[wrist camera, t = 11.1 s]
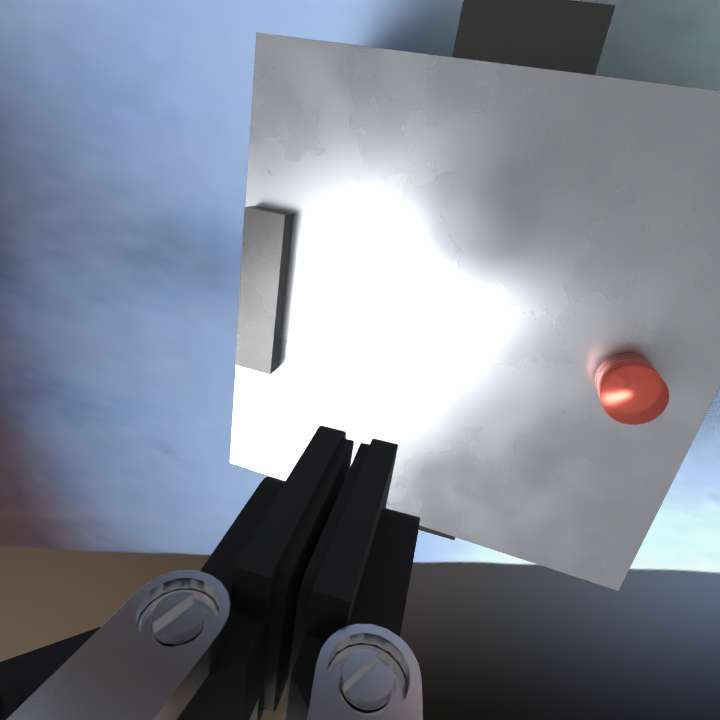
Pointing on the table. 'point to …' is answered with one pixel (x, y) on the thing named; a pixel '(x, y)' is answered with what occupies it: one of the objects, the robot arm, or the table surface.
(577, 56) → the grey metal box
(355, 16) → the table surface
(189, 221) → the table surface
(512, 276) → the cooker lid
